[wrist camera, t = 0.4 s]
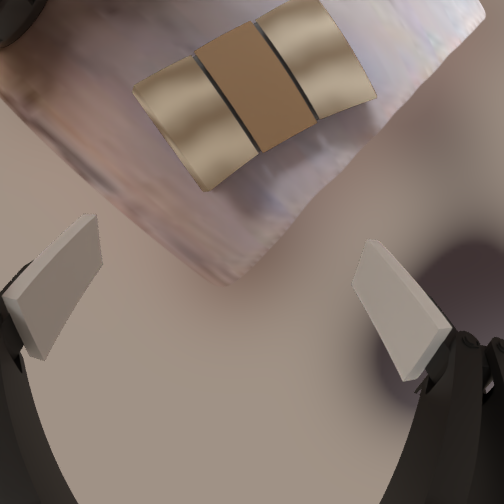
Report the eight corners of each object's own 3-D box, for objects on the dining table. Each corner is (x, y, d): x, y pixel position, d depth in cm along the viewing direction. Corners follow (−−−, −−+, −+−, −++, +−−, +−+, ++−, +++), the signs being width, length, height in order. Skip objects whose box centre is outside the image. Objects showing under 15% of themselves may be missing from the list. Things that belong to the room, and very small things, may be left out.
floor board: (142, 95, 28) (133, 94, 25) (304, 5, 23) (311, -4, 20) (205, 183, 34) (202, 191, 31) (361, 95, 29) (373, 95, 26)
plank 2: (261, 21, 23) (255, 20, 22) (313, -7, 19) (310, -10, 18) (322, 115, 29) (320, 119, 28) (376, 94, 25) (377, 97, 23)
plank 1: (131, 92, 23) (133, 85, 22) (185, 62, 25) (190, 55, 24) (203, 191, 29) (209, 191, 28) (249, 156, 31) (258, 153, 29)
